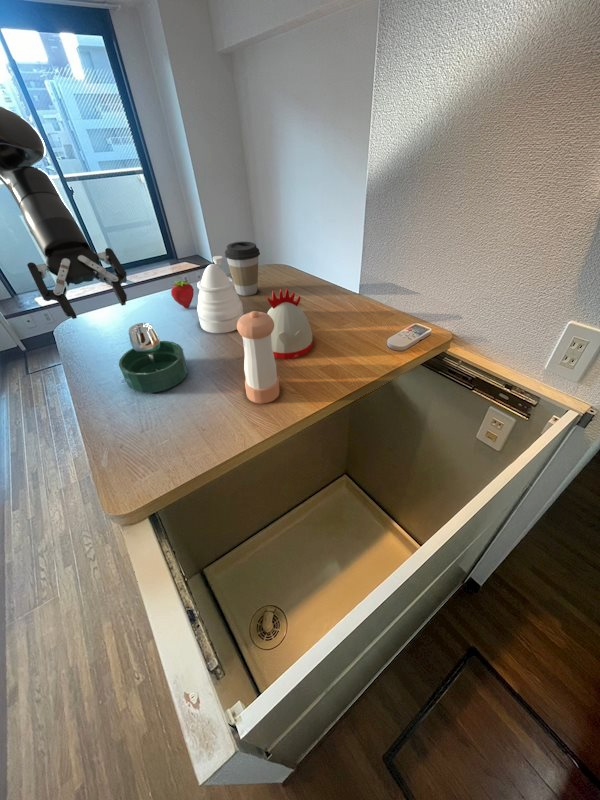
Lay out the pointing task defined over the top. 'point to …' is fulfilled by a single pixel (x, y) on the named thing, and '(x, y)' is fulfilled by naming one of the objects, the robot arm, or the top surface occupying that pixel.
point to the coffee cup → (243, 266)
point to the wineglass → (145, 341)
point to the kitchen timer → (289, 327)
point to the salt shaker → (259, 357)
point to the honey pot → (218, 300)
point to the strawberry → (182, 293)
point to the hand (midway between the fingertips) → (100, 309)
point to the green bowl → (140, 366)
